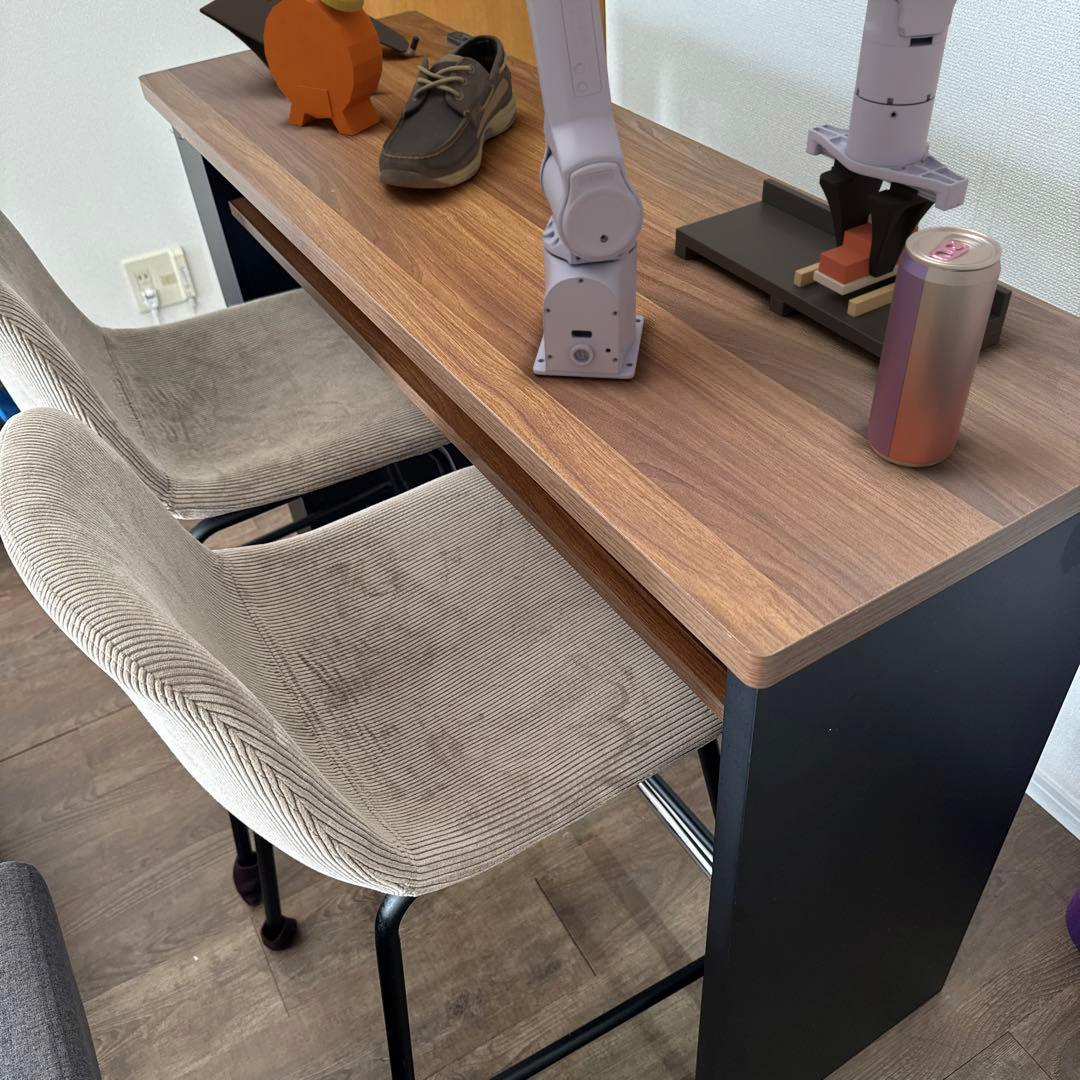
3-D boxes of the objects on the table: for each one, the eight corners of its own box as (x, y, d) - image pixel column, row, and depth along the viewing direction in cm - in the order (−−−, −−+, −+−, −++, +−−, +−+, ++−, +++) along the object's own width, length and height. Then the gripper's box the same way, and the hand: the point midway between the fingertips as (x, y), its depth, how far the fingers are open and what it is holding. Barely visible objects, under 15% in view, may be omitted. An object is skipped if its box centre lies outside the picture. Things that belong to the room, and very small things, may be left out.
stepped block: (884, 253, 89) (892, 204, 86) (914, 268, 87) (924, 218, 84) (812, 279, 86) (819, 229, 83) (842, 295, 84) (850, 245, 81)
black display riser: (998, 342, 84) (1013, 290, 81) (899, 385, 80) (910, 333, 77) (765, 223, 103) (769, 177, 100) (674, 253, 99) (676, 207, 96)
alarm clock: (393, 121, 129) (369, -64, 116) (362, 138, 125) (333, -52, 112) (309, 106, 135) (277, -72, 122) (277, 122, 131) (240, -61, 118)
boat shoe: (355, 203, 111) (338, 97, 104) (441, 108, 132) (431, 15, 125) (455, 209, 108) (444, 101, 101) (525, 111, 130) (520, 17, 123)
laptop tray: (351, 147, 139) (371, 83, 133) (189, 61, 137) (202, -9, 130) (407, 90, 156) (427, 30, 150) (264, 12, 153) (279, -52, 147)
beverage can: (848, 447, 75) (884, 248, 65) (894, 412, 78) (934, 216, 68) (925, 482, 71) (974, 277, 61) (969, 443, 74) (1023, 242, 64)
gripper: (1013, 107, 74) (970, 284, 83) (862, 58, 84) (838, 222, 92) (942, 129, 71) (905, 310, 80) (794, 76, 81) (776, 243, 90)
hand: (865, 265), depth 86 cm, fingers closed on stepped block, 3 cm apart
